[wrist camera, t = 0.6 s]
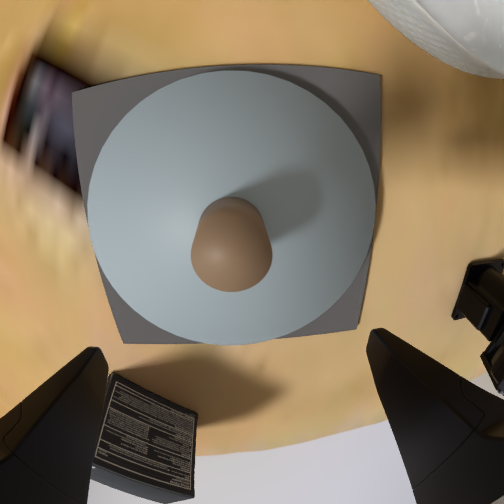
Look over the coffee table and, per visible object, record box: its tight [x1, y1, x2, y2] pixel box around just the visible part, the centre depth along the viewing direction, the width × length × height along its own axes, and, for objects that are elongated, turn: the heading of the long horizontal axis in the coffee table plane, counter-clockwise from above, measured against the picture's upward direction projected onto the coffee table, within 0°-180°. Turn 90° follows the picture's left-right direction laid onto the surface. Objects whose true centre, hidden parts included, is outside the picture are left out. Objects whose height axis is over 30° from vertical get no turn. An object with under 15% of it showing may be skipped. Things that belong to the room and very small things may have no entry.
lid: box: [87, 71, 376, 345], centre depth 17 cm, size 19×19×5 cm
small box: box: [90, 373, 198, 504], centre depth 22 cm, size 11×6×10 cm, turn 49°
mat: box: [72, 65, 381, 344], centre depth 19 cm, size 20×20×1 cm
